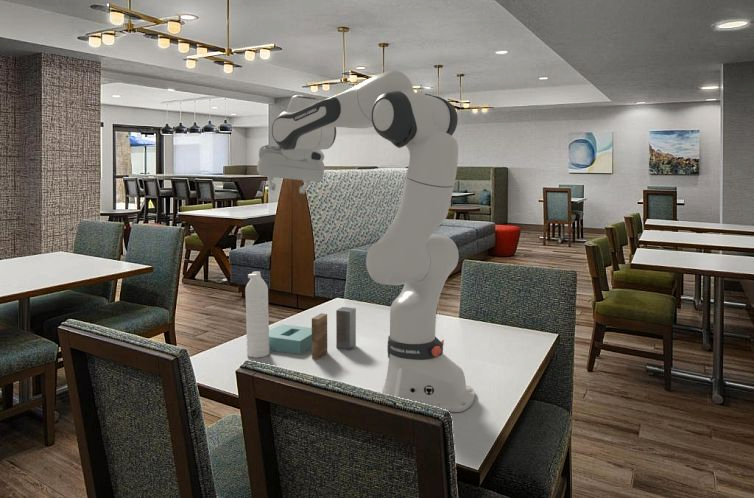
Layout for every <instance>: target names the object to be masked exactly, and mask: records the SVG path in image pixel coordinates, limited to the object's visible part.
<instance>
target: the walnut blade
mask: <svg viewBox="0 0 754 498" xmlns="http://www.w3.org/2000/svg"><path fill="white" fill-rule="evenodd" d="M311 328H312V347H311V359H312V360H319V359H321V358H322V357H324V356H325V355H327V354H328V314H327V313H322V312H321V313H319V314H317V315H315V316H314V317H312V318H311Z"/></svg>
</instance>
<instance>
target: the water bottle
mask: <svg viewBox="0 0 754 498" xmlns="http://www.w3.org/2000/svg"><path fill="white" fill-rule="evenodd" d="M247 279H249V281H248V282H247V284H246V286H245V288H244V289H245V290H244V291H245V312H246V314H245V319H246V322H245V324H246V325H245V326H246V331H245V332H246V355H247V356H248V357H250V358H254V359H256V358H257V359H258V358H265V357H267V356H268V355H270V351H271V350H269V331H270V327H269V326H270V325H269V324H270V323H269V287H268V285H267V283H266V282H265V280H264V279H263V278H262V274H261V271H255V270H254V271H252V272H251V273H249V274H247Z"/></svg>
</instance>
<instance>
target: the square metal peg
mask: <svg viewBox="0 0 754 498" xmlns="http://www.w3.org/2000/svg"><path fill="white" fill-rule="evenodd" d="M356 311H357V308H355V307H347V306H346V307H345V306H341V307H340V308H338V309H336V312H335V317H336V319H335V321H336V323H335V324H336V326H335V327H336V328H335V329H336V336H335V337H336V339H335V341H336V349H338V350H339V349H340V350H346V351H351V350H352V349H353V348H355V347H356V346H357V345H356V344H357V343H356V341H357V340H356V339H357V334H356V332H357V331H356V330H357V329H356V326H357V321H356V319H357V312H356Z"/></svg>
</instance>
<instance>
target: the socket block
mask: <svg viewBox="0 0 754 498" xmlns="http://www.w3.org/2000/svg"><path fill="white" fill-rule="evenodd" d="M311 348H312V327H307V326H298V325H293V324H292V325H291V324H284V323H281V324H279V325H277V326H276V327H273V328H272V329H269V351H277V352H283V353H290V354H297V355H301V354H302V353H304V352H306V351H307V350H309V349H311Z"/></svg>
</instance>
